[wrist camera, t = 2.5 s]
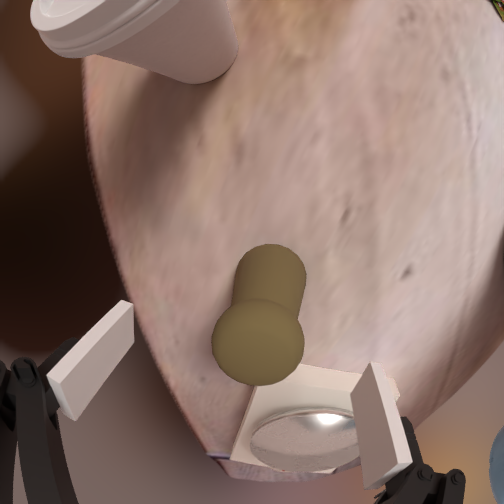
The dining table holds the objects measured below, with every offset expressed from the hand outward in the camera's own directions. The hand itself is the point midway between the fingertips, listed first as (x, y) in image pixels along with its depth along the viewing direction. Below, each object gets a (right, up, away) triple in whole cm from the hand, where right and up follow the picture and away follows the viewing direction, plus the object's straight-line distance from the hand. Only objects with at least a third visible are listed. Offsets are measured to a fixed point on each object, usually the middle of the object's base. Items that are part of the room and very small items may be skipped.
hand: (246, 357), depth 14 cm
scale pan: (+7, -15, +11) cm, 20 cm away
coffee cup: (-4, +22, +5) cm, 23 cm away
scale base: (+7, -15, +16) cm, 23 cm away
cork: (+2, +3, +10) cm, 11 cm away
